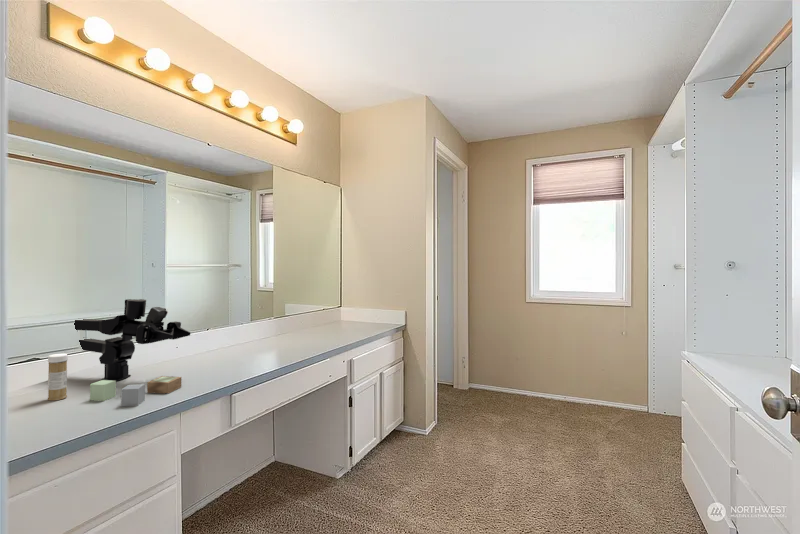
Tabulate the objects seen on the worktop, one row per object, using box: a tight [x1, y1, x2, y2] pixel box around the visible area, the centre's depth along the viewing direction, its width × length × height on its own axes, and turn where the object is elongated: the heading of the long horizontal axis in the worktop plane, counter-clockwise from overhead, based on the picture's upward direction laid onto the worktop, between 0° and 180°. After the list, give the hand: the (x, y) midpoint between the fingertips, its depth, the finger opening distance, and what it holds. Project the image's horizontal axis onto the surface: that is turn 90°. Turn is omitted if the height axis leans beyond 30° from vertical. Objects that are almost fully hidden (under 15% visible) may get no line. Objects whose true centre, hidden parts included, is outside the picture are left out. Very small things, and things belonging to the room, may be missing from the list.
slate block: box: [120, 383, 146, 407], centre depth 121 cm, size 4×4×5 cm
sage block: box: [89, 379, 117, 402], centre depth 125 cm, size 4×4×5 cm
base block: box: [146, 375, 182, 394], centre depth 134 cm, size 7×7×4 cm
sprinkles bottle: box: [47, 353, 68, 401], centre depth 123 cm, size 5×5×13 cm
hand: (181, 335), depth 142 cm, fingers open, 9 cm apart
